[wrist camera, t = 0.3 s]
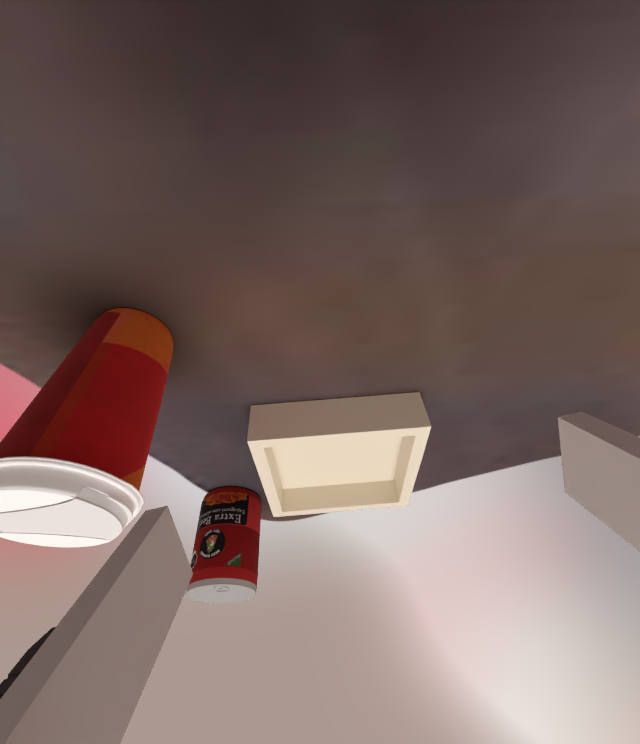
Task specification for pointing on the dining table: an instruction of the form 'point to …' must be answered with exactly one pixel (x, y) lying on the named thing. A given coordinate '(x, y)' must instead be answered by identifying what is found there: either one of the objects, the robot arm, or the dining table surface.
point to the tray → (338, 452)
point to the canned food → (226, 547)
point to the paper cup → (87, 436)
